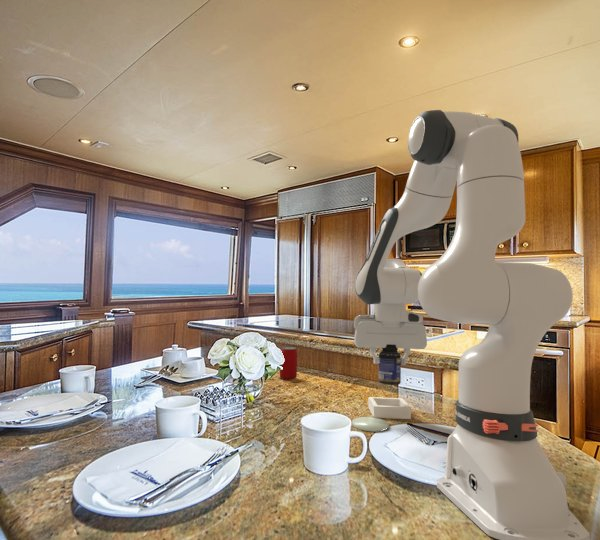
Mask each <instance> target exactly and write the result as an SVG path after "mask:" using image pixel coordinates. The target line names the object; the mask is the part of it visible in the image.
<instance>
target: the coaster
mask: <svg viewBox="0 0 600 540" xmlns="http://www.w3.org/2000/svg"><path fill="white" fill-rule="evenodd" d="M351 422H352V423H351V424H352V426H353V428H355V429H357V430H360V431H363V432H368V433H369V432H372V433H376V432H377V433H378V432H379V431H381V430H383V429H386V428H388V429H389V422H387V421H386V420H384V419H383V418H374V417H372V416H359V417H356V418H354V419H352V421H351ZM381 432H382V431H381ZM379 433H380V432H379Z"/></svg>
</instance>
